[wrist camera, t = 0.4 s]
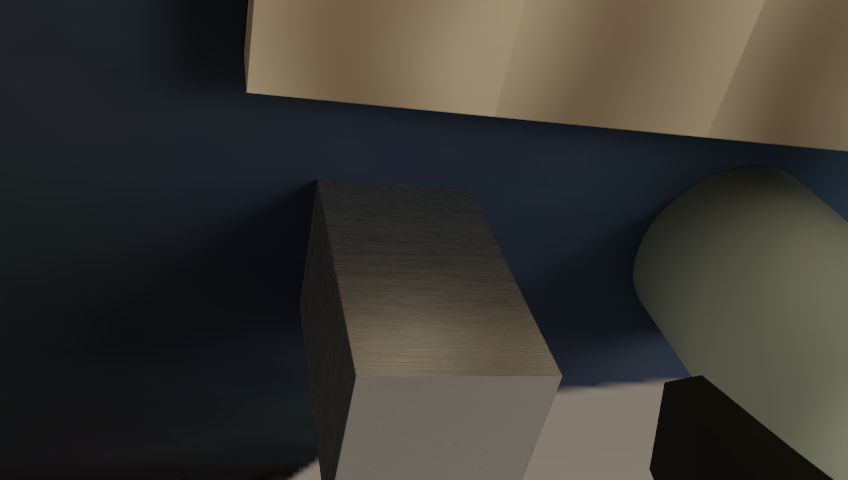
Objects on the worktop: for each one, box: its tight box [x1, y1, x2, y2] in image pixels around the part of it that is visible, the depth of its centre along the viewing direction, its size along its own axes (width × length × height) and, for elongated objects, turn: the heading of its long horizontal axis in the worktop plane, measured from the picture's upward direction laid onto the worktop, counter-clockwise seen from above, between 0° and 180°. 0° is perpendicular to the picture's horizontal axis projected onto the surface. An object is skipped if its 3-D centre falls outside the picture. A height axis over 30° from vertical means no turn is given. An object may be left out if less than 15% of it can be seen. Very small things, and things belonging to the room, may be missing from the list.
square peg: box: [299, 179, 562, 480], centre depth 18 cm, size 4×4×7 cm
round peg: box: [633, 166, 848, 480], centre depth 21 cm, size 6×6×7 cm
